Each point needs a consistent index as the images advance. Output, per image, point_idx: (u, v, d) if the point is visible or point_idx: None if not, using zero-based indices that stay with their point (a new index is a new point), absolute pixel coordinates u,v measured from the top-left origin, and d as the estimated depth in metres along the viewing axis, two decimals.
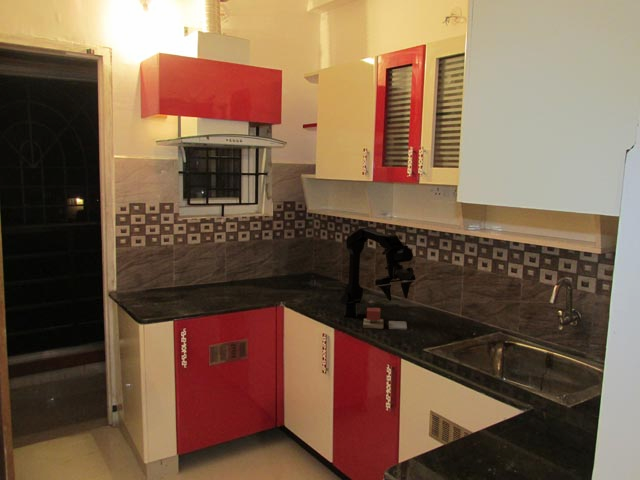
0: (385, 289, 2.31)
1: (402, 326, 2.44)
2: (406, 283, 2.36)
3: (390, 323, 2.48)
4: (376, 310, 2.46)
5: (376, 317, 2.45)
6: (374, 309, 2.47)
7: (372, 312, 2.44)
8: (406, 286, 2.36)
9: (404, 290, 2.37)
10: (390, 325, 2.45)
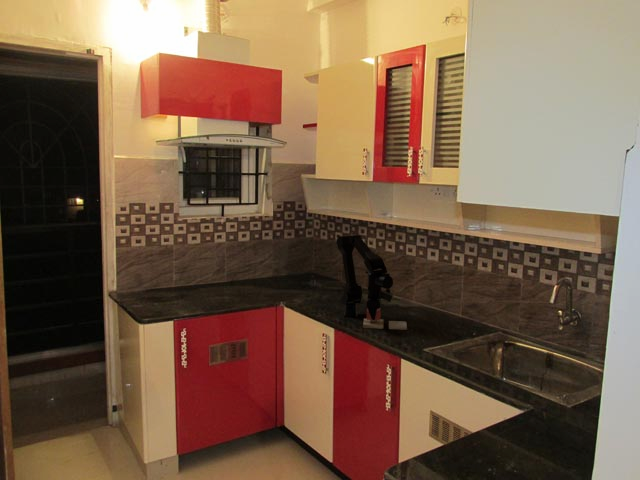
0: (372, 309, 2.43)
1: (402, 326, 2.44)
2: None
3: (390, 323, 2.48)
4: None
5: (376, 317, 2.45)
6: None
7: None
8: None
9: None
10: (390, 325, 2.45)
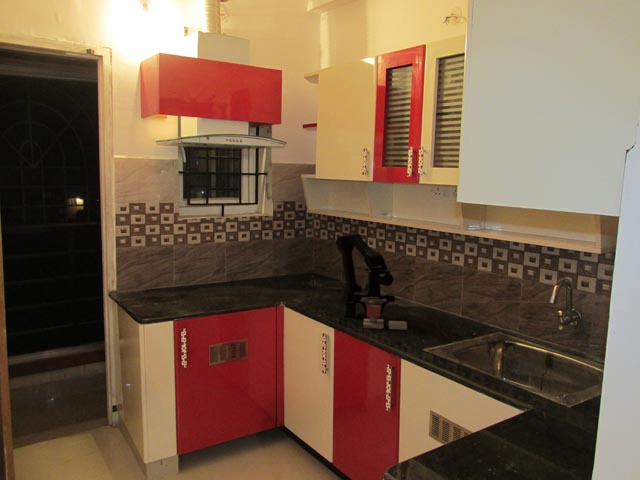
0: None
1: (402, 326, 2.44)
2: (365, 301, 2.48)
3: (390, 323, 2.48)
4: (376, 306, 2.48)
5: None
6: (375, 306, 2.47)
7: (380, 307, 2.46)
8: None
9: (366, 308, 2.47)
10: (390, 325, 2.45)
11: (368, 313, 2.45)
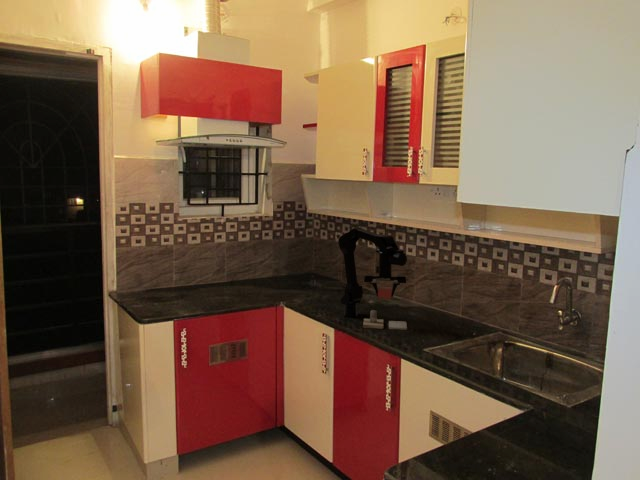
0: None
1: (402, 326, 2.44)
2: None
3: (390, 323, 2.48)
4: (387, 287, 2.46)
5: None
6: (386, 288, 2.45)
7: (391, 289, 2.44)
8: None
9: (377, 289, 2.45)
10: (390, 325, 2.45)
11: (379, 295, 2.43)
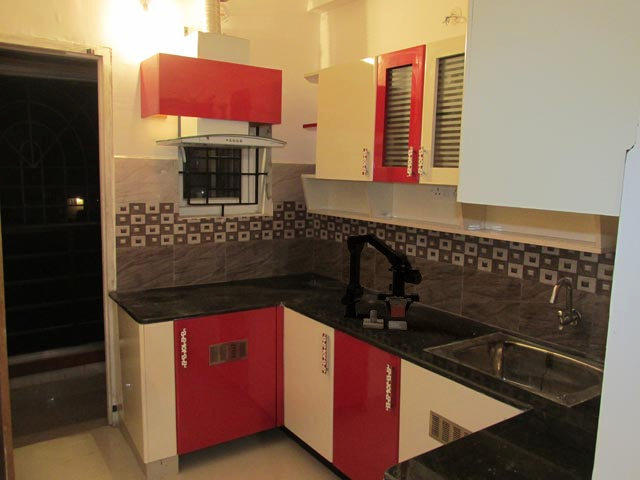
0: None
1: (402, 326, 2.44)
2: (389, 300, 2.47)
3: (390, 323, 2.48)
4: (400, 305, 2.47)
5: None
6: (399, 306, 2.46)
7: (404, 307, 2.45)
8: None
9: (390, 307, 2.46)
10: (390, 325, 2.45)
11: (392, 313, 2.43)
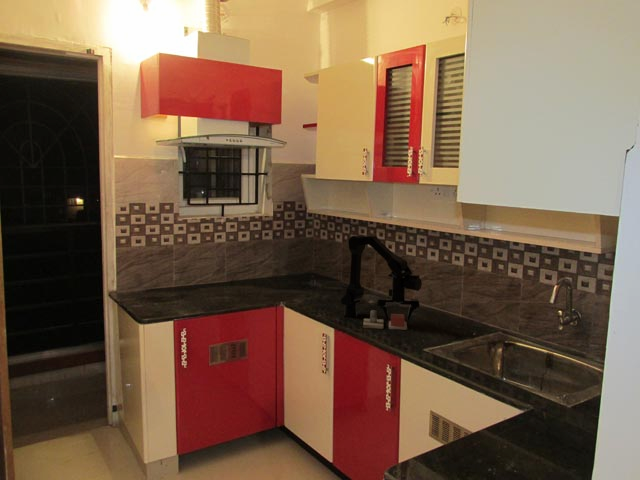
0: None
1: (402, 326, 2.44)
2: (386, 306, 2.47)
3: (390, 323, 2.48)
4: (400, 315, 2.47)
5: None
6: (398, 315, 2.47)
7: (404, 317, 2.46)
8: None
9: (387, 313, 2.46)
10: (390, 325, 2.45)
11: (392, 322, 2.44)
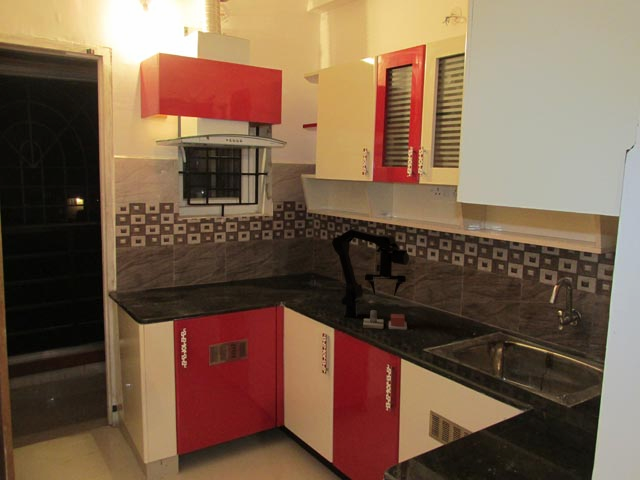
0: None
1: (402, 326, 2.44)
2: None
3: (390, 323, 2.48)
4: (400, 315, 2.47)
5: None
6: (398, 315, 2.47)
7: (404, 317, 2.46)
8: (374, 283, 2.53)
9: (374, 287, 2.52)
10: (390, 325, 2.45)
11: (392, 322, 2.44)
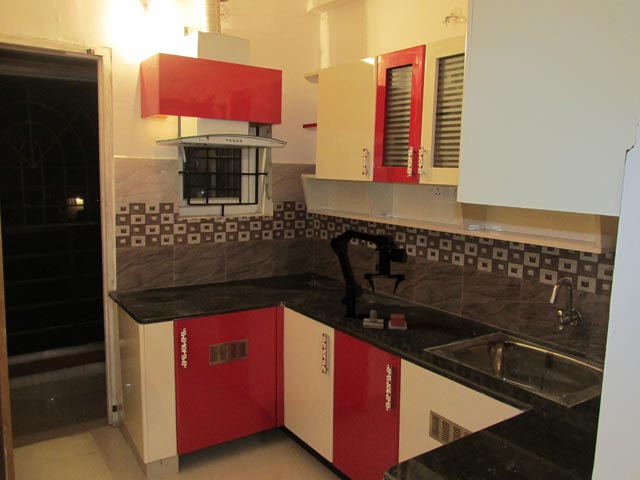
0: None
1: (402, 326, 2.44)
2: (373, 280, 2.54)
3: (390, 323, 2.48)
4: (400, 315, 2.47)
5: None
6: (398, 315, 2.47)
7: (404, 317, 2.46)
8: (373, 282, 2.54)
9: None
10: (390, 325, 2.45)
11: (392, 322, 2.44)
